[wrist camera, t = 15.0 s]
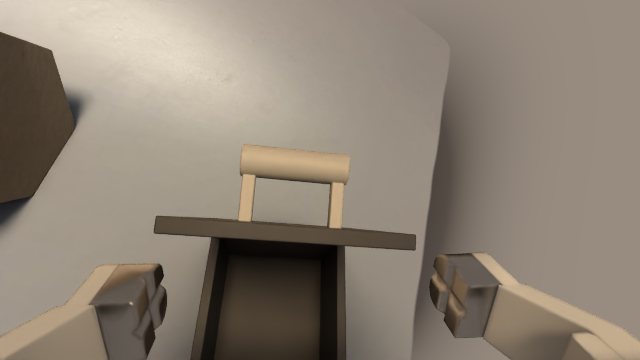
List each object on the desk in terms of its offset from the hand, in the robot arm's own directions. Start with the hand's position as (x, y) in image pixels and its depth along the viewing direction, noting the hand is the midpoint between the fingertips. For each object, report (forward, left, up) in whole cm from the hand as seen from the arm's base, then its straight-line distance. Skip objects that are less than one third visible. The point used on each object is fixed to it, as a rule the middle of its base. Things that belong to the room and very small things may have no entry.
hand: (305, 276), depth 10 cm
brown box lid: (+5, 0, -13) cm, 14 cm away
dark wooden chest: (0, 0, -30) cm, 30 cm away
